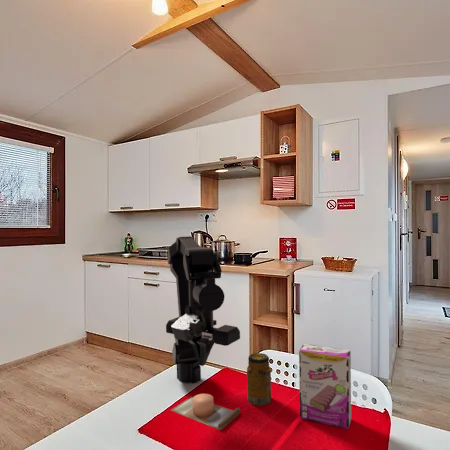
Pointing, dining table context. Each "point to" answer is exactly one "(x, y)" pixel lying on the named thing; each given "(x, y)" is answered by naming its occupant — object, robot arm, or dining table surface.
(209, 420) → the board
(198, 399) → the tan round cylinder
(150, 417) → the dining table surface
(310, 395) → the candy bar box
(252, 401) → the condiment
